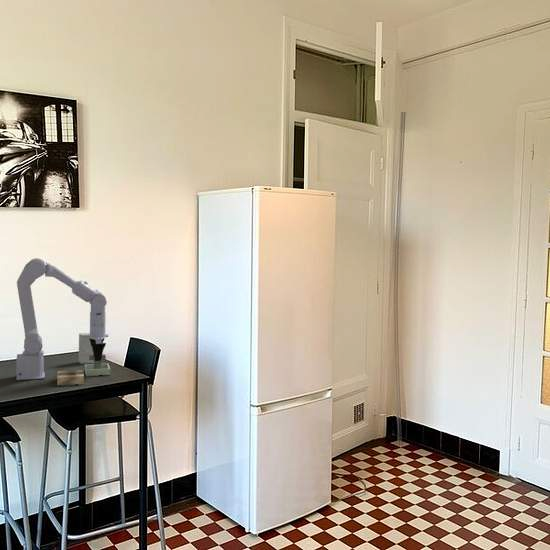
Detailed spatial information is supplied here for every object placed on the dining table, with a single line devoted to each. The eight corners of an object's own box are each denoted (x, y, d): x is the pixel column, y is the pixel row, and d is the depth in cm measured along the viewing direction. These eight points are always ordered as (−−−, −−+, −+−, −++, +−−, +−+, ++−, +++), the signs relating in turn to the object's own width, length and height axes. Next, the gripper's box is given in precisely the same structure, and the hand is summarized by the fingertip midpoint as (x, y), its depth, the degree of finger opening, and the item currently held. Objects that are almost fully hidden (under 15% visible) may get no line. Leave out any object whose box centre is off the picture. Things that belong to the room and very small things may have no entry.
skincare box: (81, 364, 241) (81, 335, 240) (78, 362, 245) (78, 333, 244) (96, 362, 245) (96, 334, 244) (93, 360, 249) (93, 332, 248)
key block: (57, 385, 209) (57, 377, 209) (57, 379, 217) (57, 371, 217) (83, 384, 212) (83, 375, 212) (83, 377, 220) (83, 370, 220)
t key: (89, 373, 226) (89, 356, 225) (89, 371, 228) (89, 355, 228) (105, 372, 228) (105, 355, 227) (105, 370, 230) (105, 354, 230)
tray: (85, 376, 222) (85, 369, 222) (84, 370, 231) (84, 364, 231) (110, 375, 226) (110, 368, 225) (108, 369, 234) (108, 363, 234)
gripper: (109, 326, 221) (109, 362, 222) (107, 320, 235) (106, 354, 236) (90, 327, 219) (90, 363, 220) (88, 321, 232) (88, 355, 234)
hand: (97, 358), depth 228 cm, fingers open, 7 cm apart
